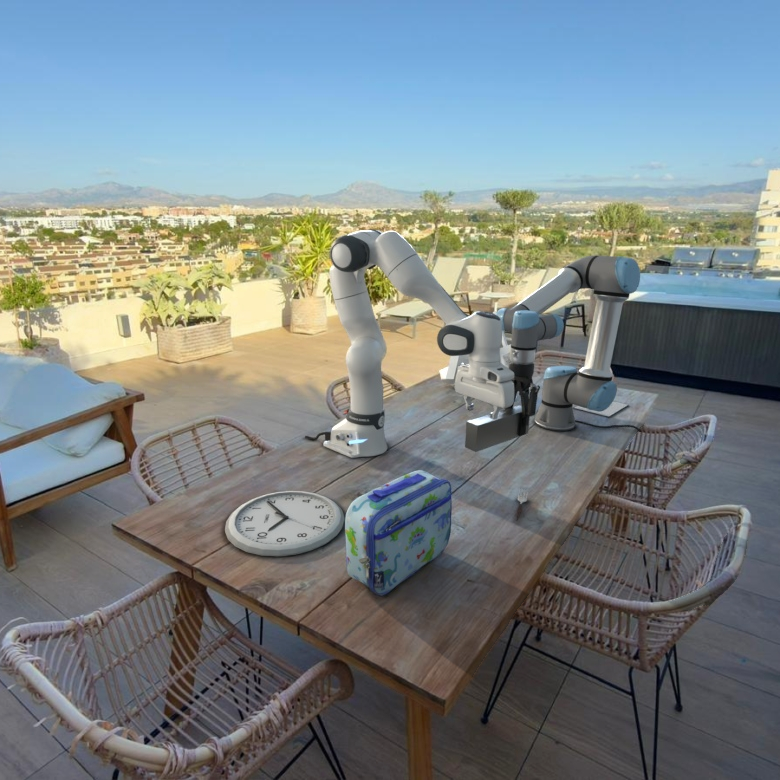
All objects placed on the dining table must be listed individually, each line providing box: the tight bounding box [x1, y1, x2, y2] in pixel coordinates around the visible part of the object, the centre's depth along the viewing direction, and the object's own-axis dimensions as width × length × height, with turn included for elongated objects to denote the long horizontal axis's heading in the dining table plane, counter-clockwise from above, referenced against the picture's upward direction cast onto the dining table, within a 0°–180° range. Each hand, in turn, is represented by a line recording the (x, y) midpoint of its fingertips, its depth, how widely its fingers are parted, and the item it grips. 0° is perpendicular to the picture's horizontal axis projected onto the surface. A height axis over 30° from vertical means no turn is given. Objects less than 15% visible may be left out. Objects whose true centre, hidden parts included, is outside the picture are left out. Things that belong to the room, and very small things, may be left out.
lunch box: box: [344, 469, 453, 596], centre depth 114 cm, size 26×11×21 cm, turn 135°
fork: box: [516, 487, 529, 521], centre depth 143 cm, size 3×16×2 cm, turn 160°
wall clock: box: [224, 490, 345, 557], centre depth 134 cm, size 30×2×30 cm
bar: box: [464, 405, 531, 453], centre depth 161 cm, size 24×4×8 cm, turn 128°
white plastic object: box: [438, 310, 530, 400], centre depth 245 cm, size 37×45×31 cm
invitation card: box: [573, 400, 629, 418], centre depth 226 cm, size 21×1×15 cm
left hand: (481, 414), depth 154 cm, fingers open, 8 cm apart
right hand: (515, 432), depth 167 cm, fingers closed on bar, 4 cm apart
